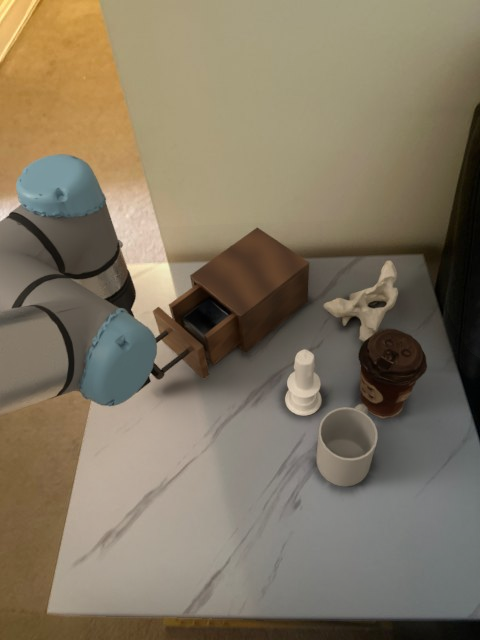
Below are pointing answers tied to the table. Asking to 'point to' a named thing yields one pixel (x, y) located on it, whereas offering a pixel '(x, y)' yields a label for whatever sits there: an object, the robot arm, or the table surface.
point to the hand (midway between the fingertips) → (140, 384)
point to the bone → (368, 296)
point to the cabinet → (256, 284)
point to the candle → (303, 386)
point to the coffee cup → (389, 370)
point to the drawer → (185, 344)
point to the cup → (346, 445)
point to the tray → (203, 319)
